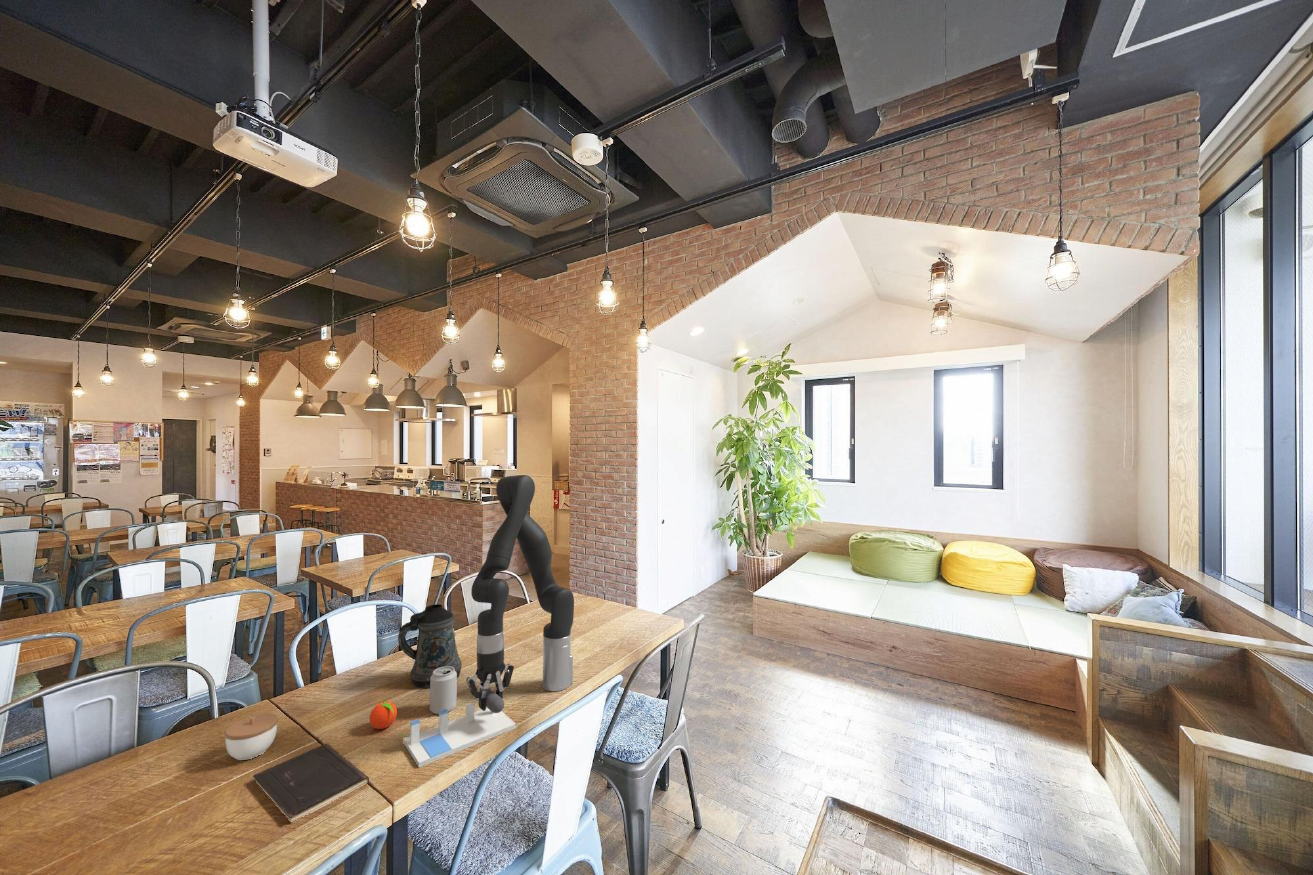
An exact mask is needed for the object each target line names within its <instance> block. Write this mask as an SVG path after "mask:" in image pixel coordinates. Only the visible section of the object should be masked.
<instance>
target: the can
mask: <svg viewBox="0 0 1313 875" xmlns="http://www.w3.org/2000/svg"><path fill="white" fill-rule="evenodd" d="M454 670H455V669H454V667H451V666H445V667H440V668H437V669H436V670H434V671H433V675H432V676H431V678H430V688H429V690H430V691H429V711H430V712H432V714H435V715H439V712H440V711H443V710H445V709H447V710H448V713H450V712H452V711H453V709H454V708H456V706H457V688H458V687H457V685H458V683H457V679H458V678H457V673H456V671H454Z"/></svg>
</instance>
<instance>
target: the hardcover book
mask: <svg viewBox="0 0 1313 875" xmlns="http://www.w3.org/2000/svg"><path fill="white" fill-rule="evenodd" d="M252 777H253V778H254V781H255V780H256V782H257V783H258V784H259V785H260V786H261V788H262V789H263V790H264V791H265V792H266V793H267V795H268V796H269V797H270V798H271V799H272V800H273V802H274V803H275V804H276V805H277V806H278V807H279V809H281V811H282V812H283V813H284V815H286V817H287V818H288V819H289V820H290V821H289V820H288V819H287V818H286V817H285V818H286V819H287V820H288V821H289V823H290V822H293V821H295V820H297V819H298V818H301V817H303V818H305V817H306V816H305V815H307V816H308V814H309V813H310V814H312V813H315V812H316V811H318V810H320V809H321V808H323V807H325V806H328V805H330V804H331V803H332V802H331V801H333V802H335V801H337V800H338V798H339V797H341V796H342V797H345V796H347V795H348V794H350V793H351V792H354V791H356V790H358V789H359V788H362V787H364V786H365V785H367V784H369V783H370V777H369V776H367V774H365V773H364V772H363V771H361V770H360V769H359V768H358V767H357V766H356V765H354V764H353V763H352V762H350V761H349V760H348V759H347V758H346V757H344V756H343V755H342V754H341V753H339V752H338V751H337V749H334V748H333V747H332V746H331V745H330V744H329V743H324V744H321V745H320V746H319V745H318V746H317V747H314V748H312V749H311V750H308V751H305V752H303V753H301V754H299V755H296V756H294V757H292V758H289V759H287V760H285V761H283V762H280V763H278V764H276V765H273V766H271V767H269V768H267V769H265V770H261V771H260V772H257V773H255V774H253V775H252ZM256 782H255V783H256ZM257 783H256V784H257ZM261 788H260V789H261ZM262 789H261V790H262ZM263 790H262V791H263ZM267 795H266V796H267ZM268 796H267V797H268ZM269 797H268V798H269ZM342 797H341V798H342ZM270 798H269V799H270ZM336 799H337V800H336ZM339 799H340V798H339ZM334 800H335V801H334ZM273 802H272V803H273ZM274 803H273V804H274ZM275 804H274V805H275ZM276 805H275V806H276ZM279 809H278V810H279ZM281 811H280V812H281ZM282 812H281V813H282ZM283 813H282V814H283ZM310 814H309V815H310ZM284 815H283V816H284ZM304 816H305V817H304ZM301 819H302V818H301ZM297 821H298V820H297ZM295 822H296V821H295ZM293 823H294V822H293Z"/></svg>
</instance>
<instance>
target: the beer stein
mask: <svg viewBox="0 0 1313 875" xmlns="http://www.w3.org/2000/svg"><path fill="white" fill-rule="evenodd" d="M455 619H456V617H455V615H454V614H453V612H452V611H450V610H448V609H446V608H445V607H443V605H442V604H439V603H438V604H431V605H428V606H426V607H425V609H424V610H423V611H420V612H417V613H414V614H412V615H411V616H410V617H409V622H406V623H405V624H403V625H402V626H401V627H400V628H399V632H398V637H397V642H398V645H399V648H400V649H401V651H402V652H403V653H404V654H406V656H408V657H409V658H410V659H412V660H414V662H413V664H412V668H411V670H410V678H411V683H412V685H413V686H414V687H417V688H420V689H421V688H422V689H430V678H431V676H432V675H433V671H434V670H436V669H437V668H440V667H445V666H451V667H454V669H455V670H454V671H456V673H457V679H458V678H459V677H460V674H461V672H462V671H461V670H462V666H463V665H462V664H463V663H462V660H461V658H460V656H459V652H458V649H457V644H456V637H455V636H456V635H455V631H454V622H455ZM417 630H418V636H417V643H416V649H413V648H412V647H411V646H410V645H409V643H408V642H407V640H406V636H407V633H408V632H414V631H417Z"/></svg>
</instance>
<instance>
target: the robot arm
mask: <svg viewBox="0 0 1313 875" xmlns="http://www.w3.org/2000/svg"><path fill="white" fill-rule="evenodd" d="M495 492H496V496H497V499H498V501H499V503H500V505H501V507H502V510H503V511H504V513H505V515H506V517H505V519H504V521H503V522H502V524H501V525H500V526H499V528H498V529H497V530H496V532H495V533H494V534H493V537H492V539H491V541H490V544H489V548H488V551H487V555H486V558H485V561H484V563H483V565H482V567H481V568H480V570H479V572H478V573H477V575H476V577H475V579H474V580H473V583H472V584H471V588H470V590H471V592H470V593H471V598H472V599H473V601H475V602H476V603H482V604H490V608H488V609H484V610H482V611H480V612H479V614H478V616H477V636H476V637H477V639H476V671H475V674H474V675H472V676H470V677H469V676H468V677H467V678H466V679H465V680H466V684H467V686H468V689H469V691H470V694H471V696H472V697H473V698H475V699H476V700H477V699H478V698H479V699H478V708H479V709H480V710H482V711H485V710H486V708H487V707H486V697H485V695H486V691H487V690H488V688H489V685H490V684H493V683H494V686H495V688H496V689H495V693H496V694H497V695H498V696H500V697H501V698H502V699H503V700H504V695H503V694H504V690H505V689H506V688H509V687H510V684H511V681H512V676H513V673H514V669H515V666H514V665H512V664H511V663H507V664H505V635H504V614H505V610H506V605H507V602H508V598H509V594H510V587H509V584H508V582H507V581H506V580H505V579H503V578H496V577H495V575H497V574H498V573H500V572H504V571H505V572H506V571H507V570H508V569H509V567H510V563H511V560H512V555H513V552H514V547H515V545H516V542H518V545H519V549H520V552H521V554H522V556H523V559H524V561H525V563H526V566H527V568H528V571H529V574H530V575H531V578H532V581H533V585H534V589H535V592H536V596H537V601H538V603H539V607H540V608H541V609H542V610H543V611H544V612H546V613H549V614H550V622H549V623H546V625H544V626H543V629H542V630H543V632H542V634H543V635H542V637H543V638H542V644H543V645H542V652H543V653H542V687H543V689H544V690H545V691H548V692H558V691H563V690H566V689H567V688H569V687H570V686H571V685H573V684H574V683H573V682H574V681H573V680H574V678H573V677H574V670H573V669H574V655H572V654H571V652H572V651H571V645H572V643H571V640H572V637H571V636H572V635H571V633H572V632H571V630H572V627H573V624H574V616H575V614H574V612H575V598H574V597H575V596H574V594H573V592H572V591H571V589H568V588H566V587H562V586H560V585H558V583H557V582H556V580H555V577H554V575H553V573H552V568H551V567H552V558H553V557H552V556H553V552H552V551H553V550H552V548H551V547H552V546H551V543H550V542H549V538H548V536H547V533H546V532H545V530H544V529H543V528H542V527H541V526H540V524H539V523H537V521H535V520H534V519H533V518H532V517H531V516H530V514H529V513H528V511H529V509H530V506H531V504H532V502H533V499H534V496H535V493H536V483H535V481H534V479H533V478H532V477H531V476H530V475H527V474H518V475H509V476H508V475H507V476H504V477H501V478H500V479H499V480H498V481H497V483H496V487H495ZM494 577H495V578H494ZM503 672H504V673H503ZM502 675H503V676H502ZM477 680H479V684H478V688H477V686H476V684H477Z"/></svg>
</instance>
